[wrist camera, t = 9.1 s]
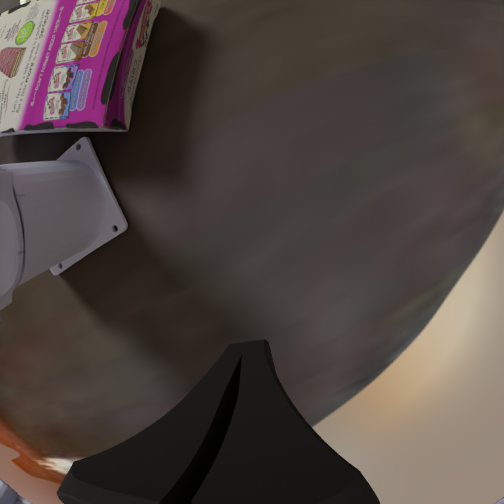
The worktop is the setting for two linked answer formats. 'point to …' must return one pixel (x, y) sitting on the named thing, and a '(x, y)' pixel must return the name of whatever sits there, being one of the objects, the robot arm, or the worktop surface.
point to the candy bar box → (72, 64)
